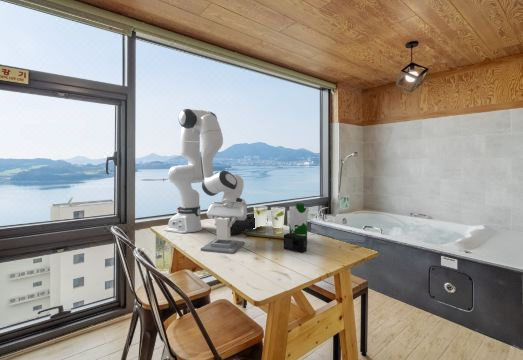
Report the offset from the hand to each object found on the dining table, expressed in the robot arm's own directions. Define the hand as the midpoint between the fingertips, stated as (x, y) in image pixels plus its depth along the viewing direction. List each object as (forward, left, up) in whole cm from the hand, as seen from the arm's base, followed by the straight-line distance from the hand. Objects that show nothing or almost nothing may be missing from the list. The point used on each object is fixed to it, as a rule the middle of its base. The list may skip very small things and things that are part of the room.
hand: (222, 225), depth 133 cm
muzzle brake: (+2, +32, -11) cm, 34 cm away
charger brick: (0, +1, -6) cm, 6 cm away
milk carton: (+34, +20, -11) cm, 41 cm away
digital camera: (+34, +5, -11) cm, 36 cm away
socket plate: (0, +1, -11) cm, 11 cm away
